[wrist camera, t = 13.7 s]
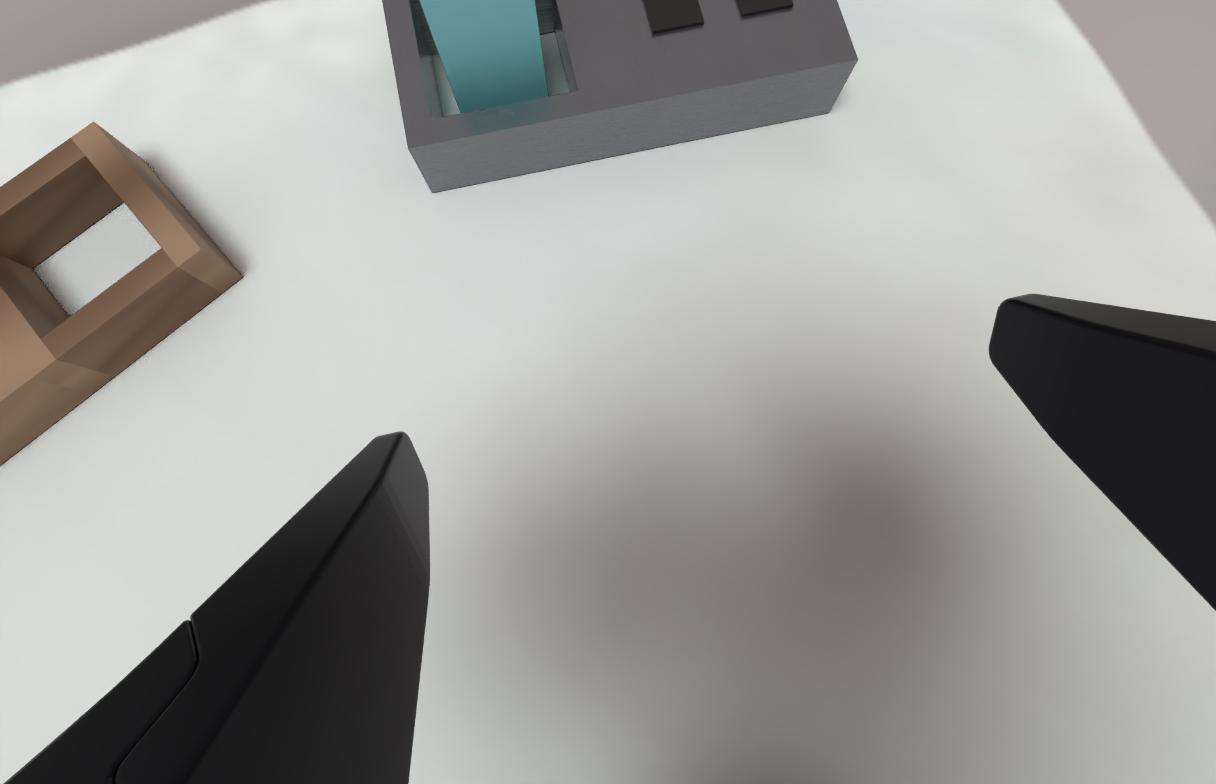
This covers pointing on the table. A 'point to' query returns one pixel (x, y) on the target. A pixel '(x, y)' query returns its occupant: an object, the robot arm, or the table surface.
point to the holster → (117, 318)
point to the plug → (488, 50)
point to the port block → (627, 82)
